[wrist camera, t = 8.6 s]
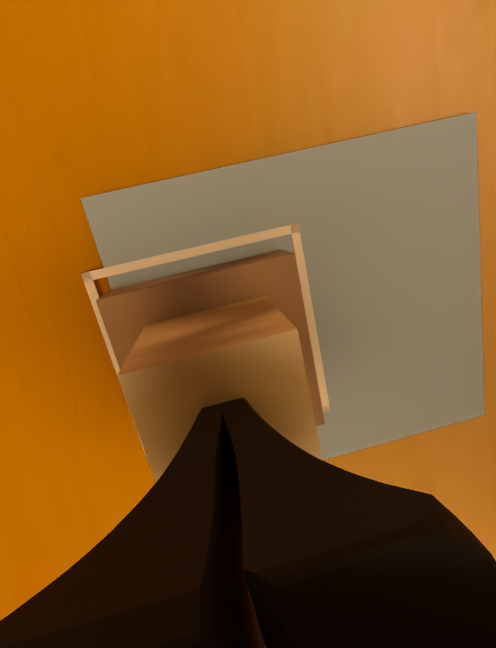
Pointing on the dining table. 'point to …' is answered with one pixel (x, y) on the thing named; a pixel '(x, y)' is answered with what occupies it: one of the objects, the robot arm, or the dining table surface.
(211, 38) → the dining table surface
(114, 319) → the walnut slab
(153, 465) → the maple cube
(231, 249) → the grey flat panel
